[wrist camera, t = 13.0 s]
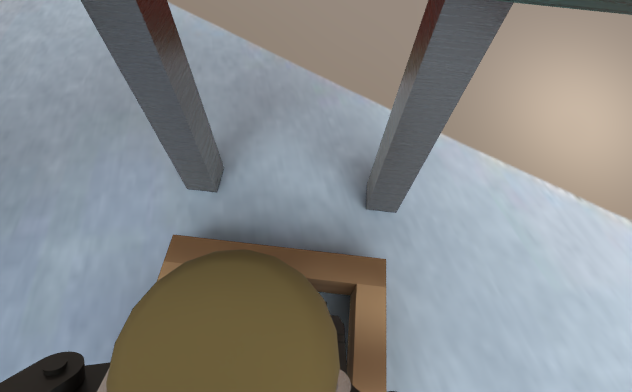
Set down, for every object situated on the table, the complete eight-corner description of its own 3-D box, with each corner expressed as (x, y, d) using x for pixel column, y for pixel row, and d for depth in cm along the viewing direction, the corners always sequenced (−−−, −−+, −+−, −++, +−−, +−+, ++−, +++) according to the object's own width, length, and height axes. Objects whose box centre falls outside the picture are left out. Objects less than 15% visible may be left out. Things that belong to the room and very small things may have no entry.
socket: (373, 536, 14) (386, 564, 12) (106, 503, 14) (72, 523, 12) (376, 272, 20) (386, 259, 18) (186, 251, 20) (173, 234, 18)
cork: (221, 304, 18) (122, 202, 8) (335, 315, 17) (369, 224, 8) (190, 445, 15) (-30, 547, 5) (327, 460, 14) (366, 592, 5)
